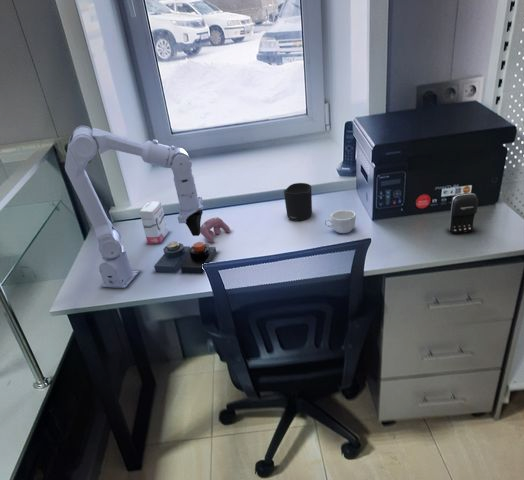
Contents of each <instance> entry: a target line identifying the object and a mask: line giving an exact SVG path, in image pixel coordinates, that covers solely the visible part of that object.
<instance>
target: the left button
mask: <svg viewBox="0 0 524 480" xmlns="http://www.w3.org/2000/svg"><path fill="white" fill-rule="evenodd" d="M178 243H179V242H178V241H170V242H167V245H166V246H167V247H168V250H169V251H175V250H178V249H179V244H178Z"/></svg>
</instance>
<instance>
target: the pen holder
mask: <svg viewBox="0 0 524 480" xmlns="http://www.w3.org/2000/svg"><path fill="white" fill-rule="evenodd" d="M312 195H313V194H312V185H311V184H309V183H306V182H295V183H291V184H290V185H288V187H286V189H284V190H283V196H284V202H285V209H286V216H287V219H288V220H290V221H294V222H296V221H297V222H301V221H306V220H308V219H309V218H311V217H312V215H313V199H312V197H313V196H312Z"/></svg>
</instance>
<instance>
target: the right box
mask: <svg viewBox="0 0 524 480" xmlns="http://www.w3.org/2000/svg"><path fill="white" fill-rule="evenodd" d="M204 245H205V250H203V251H200V252H195V251H194V248H193V245H192V246H190V249H189V252H190V255H189V256H188V257H187V259H186V260H185V261H184V263H183V264H182V265H181V267H180V268H179V269H180V271H181V274H199V275H201V274H202V275H203V274H204V273H205V271H204V270H203V269H202V264H204V263H209V262H210V263H211V262H212V260H213V259H214V258H215V256H216V255H217V253H218V252H217V247H216V246H210V244H208V243H204Z"/></svg>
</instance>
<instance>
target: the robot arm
mask: <svg viewBox="0 0 524 480" xmlns="http://www.w3.org/2000/svg"><path fill="white" fill-rule="evenodd" d="M110 150H112V151H117V152H121V153H126V154H130V155H135V156H138V157H140V158H142V161H143V162H144V163H146V164H150V165H154V166H158V167H161V168H164V169H171V171H172V174H173V182H174V186H175V191H176V195H177V200H178V203H179V206H180V207H179V213H178V216H177V222H178V224H185V225H186V227H187V228H188V229H189V232H190V233H191V236H192V237H199V236H200V235H201V233H200V227H201V223H202V216H203V209H204V205H203V203H204V201H203V197H202V196H199V195H198V191H197V186H196V182H195V177H194V174H193V170H192V165H193V161H192V160H191V158H190V156H189V154H188V152H187V151H186V150H185V149H184V148H182V147H180V146H175V145H171V146H169V145H166V144H163V143H159V141H158V140H157V139H152V140H147V141H144V142H142V143H141V142H139V141H136V140H133V139H130V138H127V137H125V136H121V135H118V134H115V133H112V132H109V131H106V130H103V129H100V128H97V127H92V128H91V127H90V126H87V125H79V126H77V127H76V128H74V130H73V131H72V133H71V135H70V137H69V139H68V144H67V150H66V156H65V162H64V169H65V173H66V175H67V178H68V179H69V181H70V183H71V185H72V187H73V189H74V192H75V193H76V195H77V198H78V199H79V201H80V203H81V206H83V210H84V211H85V213H86V215H87V217H88V220H89V221H90V224H91V225H92V227H93V230H94V233H95V237H96V240H97V242H98V251H99V253H100V256H101V262H100V264H99V266H98V270H99V273H100V276H101V279H102V282H103V284H102V287H103V288H114V289H115V288H116V289H126V288H127V287H128V285H130V283H131V282H132V281H133V280H134V279H135V278H136V277H137V275H139V273H140V272H139V270H133V269H132V266H131V263H130V260H129V256H128V253H127V250H126V248H125V247H124V246H123V245H122V244H121V238H122V237H121V233H120V231H119V230H118V229H117V228H115V227H114V225H113V223H112V222H111V220H110V219H109V217H108V216H107V213H106V211H105V209H104V207H103V205H102V202H101V200H100V199H99V196H98V194H97V192H96V190H95V187H94V185H93V183H92V181H91V179H90V177H89V175H88V173H87V170H86V168H87V165H88V163H89V162H90V161H91V160H92V159H93V158H94V157H95V156H96V154H97V152H98V151H99V155H101V154H104V153H106V152H108V151H110Z"/></svg>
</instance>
